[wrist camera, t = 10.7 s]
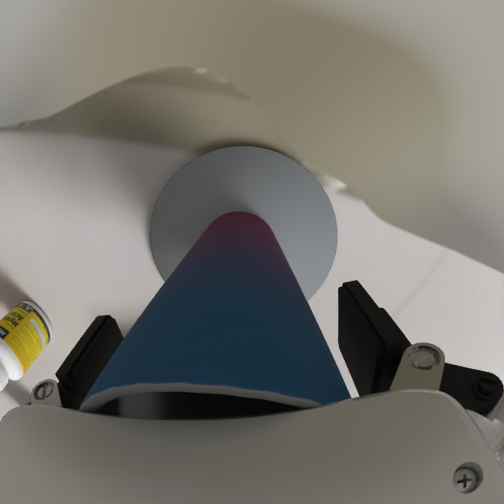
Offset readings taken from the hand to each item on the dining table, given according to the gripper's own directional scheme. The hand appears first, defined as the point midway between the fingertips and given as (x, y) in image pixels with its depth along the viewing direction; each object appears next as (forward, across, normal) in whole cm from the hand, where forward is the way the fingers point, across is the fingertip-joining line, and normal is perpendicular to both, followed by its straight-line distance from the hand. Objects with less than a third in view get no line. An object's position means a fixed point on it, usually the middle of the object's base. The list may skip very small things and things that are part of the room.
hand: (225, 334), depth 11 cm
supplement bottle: (+10, +23, +4) cm, 26 cm away
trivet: (+10, -1, -1) cm, 10 cm away
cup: (+9, 0, 0) cm, 9 cm away
